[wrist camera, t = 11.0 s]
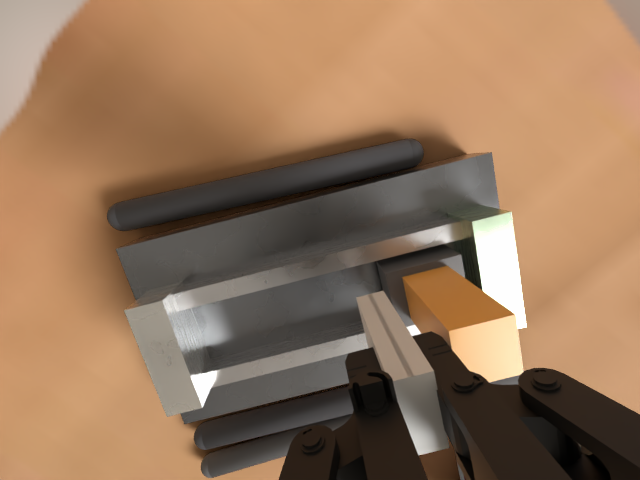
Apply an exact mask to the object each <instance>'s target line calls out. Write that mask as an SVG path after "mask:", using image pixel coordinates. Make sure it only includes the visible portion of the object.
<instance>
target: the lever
mask: <svg viewBox="0 0 640 480" xmlns="http://www.w3.org/2000/svg"><path fill="white" fill-rule="evenodd" d="M376 262H377V266H378V271H379V275H380V280H381V284H382V289H383V291H384V293H385V294H386V296H387V297H388V299H389V301H390V302H391V304H392V305H393V307H394V308H395V310H396V312H397V313H398V315H399V316H400V318H401V320H402V321H403V323H404V324H405V326H406V327H408V326H412V325H416V327H417V328H418V330H419V331H420V333H421V334H422V333H426V332H430V331H432V332H434V333H436V334H438V335H440V336H442V337H443V339H444V340H445V341H446V342H447V344H448V345H449V346H450V347H451V349H452V350H453V351H454V352H455V354H456V355H457V356H458V357H459V359H460V360H461V361H462V362H463V364H464V365H465V366H466V367H467V369H468V370H469V371H471V372H475V373H477V374H480V375H481V376H483V377H484V378H485V379H486V380H487V381H488V382H493V381H497V380H501V379H505V378H509V377H513V376H517V375H520V374H522V373H523V372H524V371H523V364H522V356H521V349H520V342H519V335H518V327H517V320H516V314H514V313H513V312H512V311H510V310H509V309H507V308H506V307H505V306H503V305H502V304H500V303H499V302H498V301H496V300H495V299H493V298H492V297H491V296H489V295H488V294H486V293H485V292H484V291H482V290H481V289H479V288H478V287H477V286H475V285H474V284H472V283H471V282H470V281H468V280H467V279H465V274H464V268H463V262H462V256H461V254H460V253H458V252H456V251H454V250H453V249H451V248H449V247H447V246H446V245H444V244H442V245H438V246H434V247H430V248H426V249H422V250H418V251H414V252H410V253H406V254H402V255H398V256H394V257H390V258H387V259H383V260H379V261H376Z"/></svg>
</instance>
